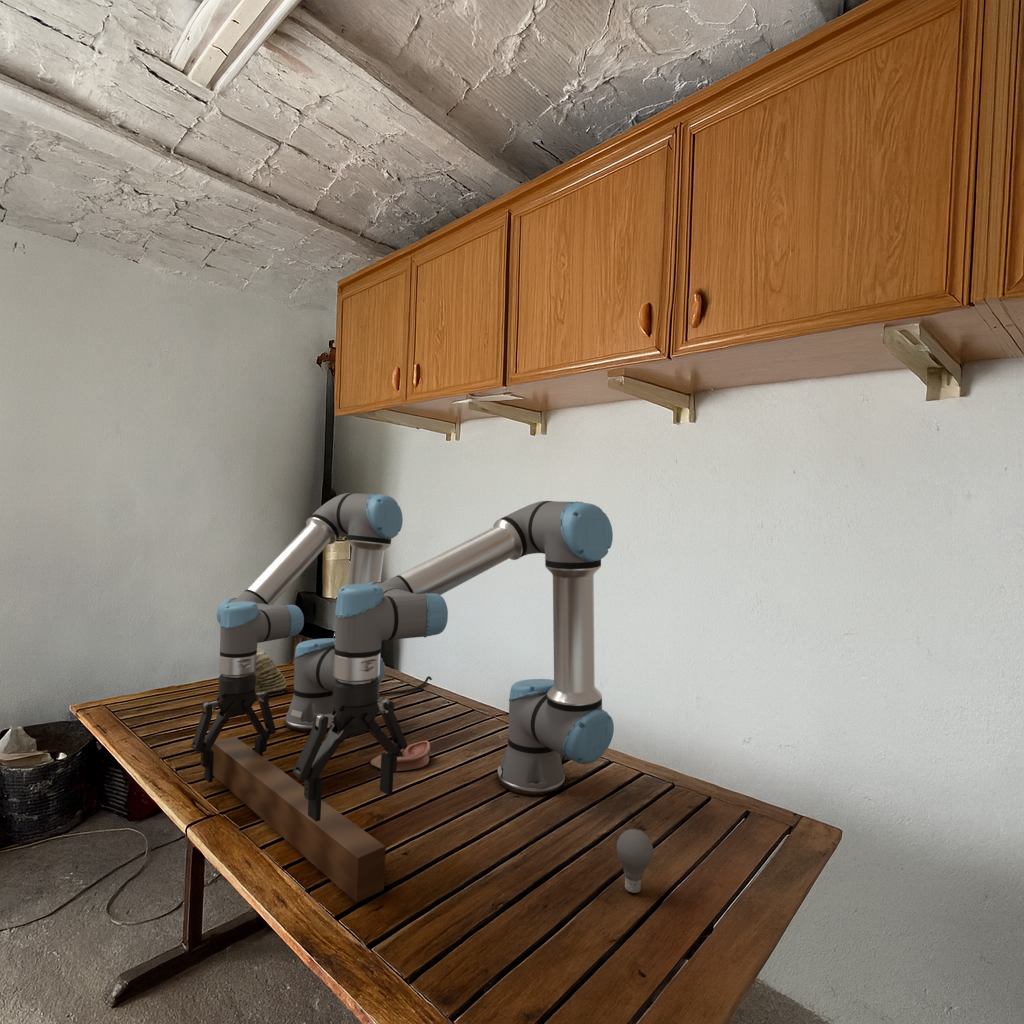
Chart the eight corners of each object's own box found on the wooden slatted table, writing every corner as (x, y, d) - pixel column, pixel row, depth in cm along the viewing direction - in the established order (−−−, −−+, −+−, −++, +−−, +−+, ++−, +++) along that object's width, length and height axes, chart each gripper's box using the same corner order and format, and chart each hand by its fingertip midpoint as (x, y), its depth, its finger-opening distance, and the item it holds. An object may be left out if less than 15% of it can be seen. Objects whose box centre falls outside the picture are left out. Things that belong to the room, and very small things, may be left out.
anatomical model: (365, 751, 148) (384, 733, 160) (364, 767, 148) (384, 749, 160) (419, 758, 146) (435, 740, 157) (418, 775, 146) (434, 756, 157)
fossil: (218, 695, 195) (220, 647, 195) (278, 685, 208) (279, 640, 207) (228, 703, 189) (230, 653, 188) (289, 692, 201) (290, 645, 201)
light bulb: (610, 879, 108) (613, 822, 108) (644, 879, 109) (647, 822, 109) (619, 902, 102) (622, 840, 102) (655, 901, 103) (658, 840, 103)
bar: (210, 773, 142) (211, 741, 142) (233, 767, 146) (234, 736, 146) (356, 903, 100) (358, 857, 99) (383, 890, 103) (385, 846, 103)
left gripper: (188, 686, 129) (184, 794, 129) (294, 668, 145) (290, 765, 145) (176, 677, 134) (172, 782, 134) (279, 661, 150) (276, 755, 150)
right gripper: (296, 698, 94) (291, 839, 94) (430, 671, 112) (425, 790, 112) (273, 686, 99) (269, 820, 100) (405, 662, 117) (400, 776, 117)
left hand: (233, 773), depth 140 cm, fingers open, 10 cm apart
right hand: (351, 804), depth 106 cm, fingers open, 13 cm apart
